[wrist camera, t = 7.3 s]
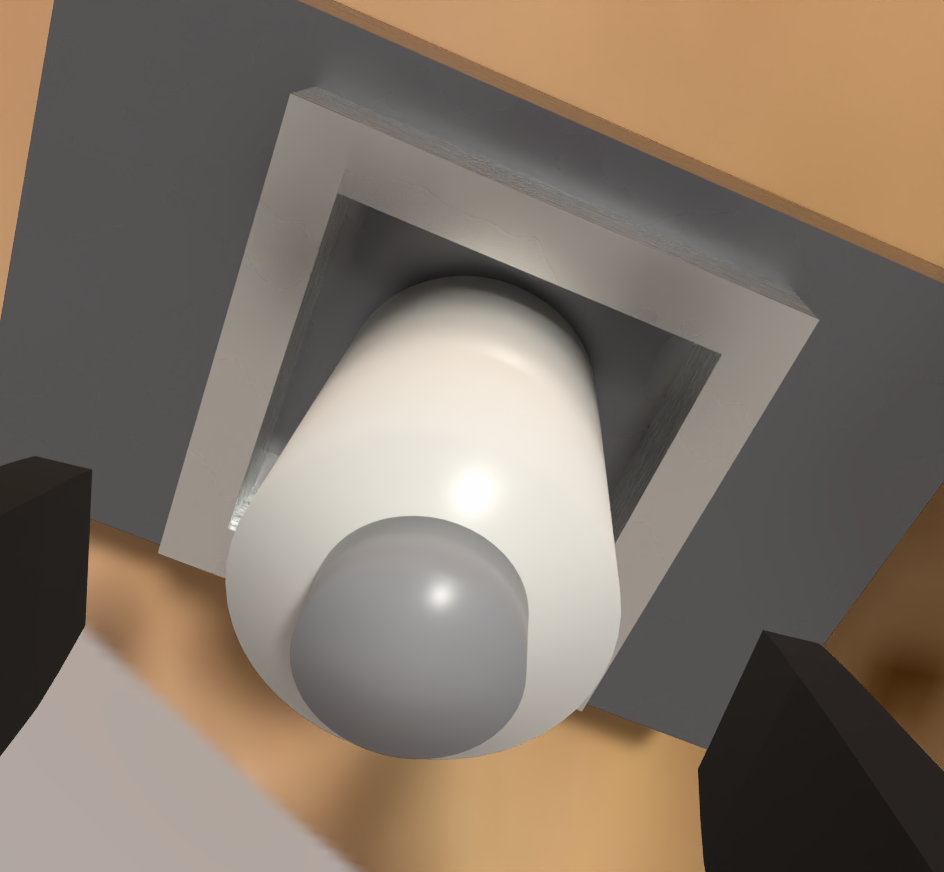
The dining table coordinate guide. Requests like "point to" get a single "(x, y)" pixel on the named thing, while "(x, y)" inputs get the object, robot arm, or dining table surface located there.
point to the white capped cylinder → (437, 532)
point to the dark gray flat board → (444, 255)
